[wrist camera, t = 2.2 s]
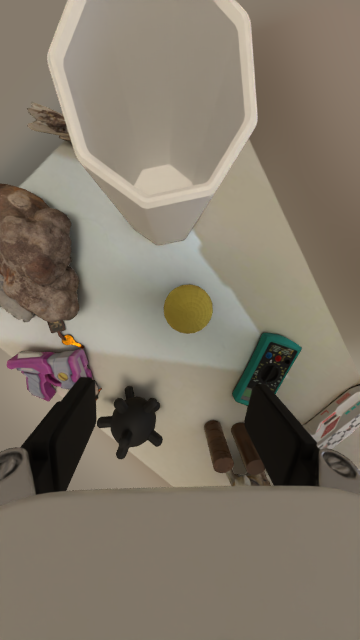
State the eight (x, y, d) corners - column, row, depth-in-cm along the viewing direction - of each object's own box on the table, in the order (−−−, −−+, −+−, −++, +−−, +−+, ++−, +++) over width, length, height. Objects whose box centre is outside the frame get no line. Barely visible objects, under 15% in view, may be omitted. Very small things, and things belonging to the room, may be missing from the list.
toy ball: (111, 450, 35) (72, 417, 29) (147, 402, 41) (121, 366, 35) (148, 487, 28) (108, 454, 22) (184, 423, 35) (161, 384, 28)
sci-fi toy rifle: (281, 440, 42) (393, 349, 37) (298, 454, 43) (409, 367, 38) (291, 456, 39) (417, 357, 34) (309, 470, 40) (433, 377, 35)
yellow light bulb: (177, 326, 33) (182, 350, 23) (156, 295, 31) (151, 306, 21) (209, 306, 32) (228, 322, 23) (190, 273, 30) (201, 275, 21)
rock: (114, 291, 34) (120, 294, 25) (51, 327, 31) (31, 344, 22) (45, 186, 28) (19, 138, 19) (-42, 218, 25) (-124, 179, 16)
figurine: (249, 426, 44) (292, 483, 30) (263, 481, 45) (312, 563, 30) (212, 438, 44) (237, 502, 29) (226, 494, 44) (258, 585, 29)
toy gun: (89, 403, 32) (71, 353, 28) (26, 406, 32) (0, 358, 28) (97, 389, 35) (81, 343, 31) (39, 392, 35) (17, 347, 31)
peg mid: (221, 420, 39) (235, 457, 31) (219, 433, 40) (231, 473, 32) (205, 419, 39) (215, 457, 31) (203, 433, 40) (211, 473, 32)
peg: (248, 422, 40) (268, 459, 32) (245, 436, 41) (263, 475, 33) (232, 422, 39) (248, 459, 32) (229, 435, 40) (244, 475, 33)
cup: (214, 217, 28) (296, 131, 10) (155, 260, 29) (139, 247, 12) (172, 142, 25) (188, -155, 8) (109, 193, 26) (-9, 36, 9)
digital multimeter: (295, 340, 35) (307, 346, 32) (261, 403, 39) (268, 413, 36) (262, 328, 34) (271, 333, 31) (229, 394, 37) (235, 404, 35)
